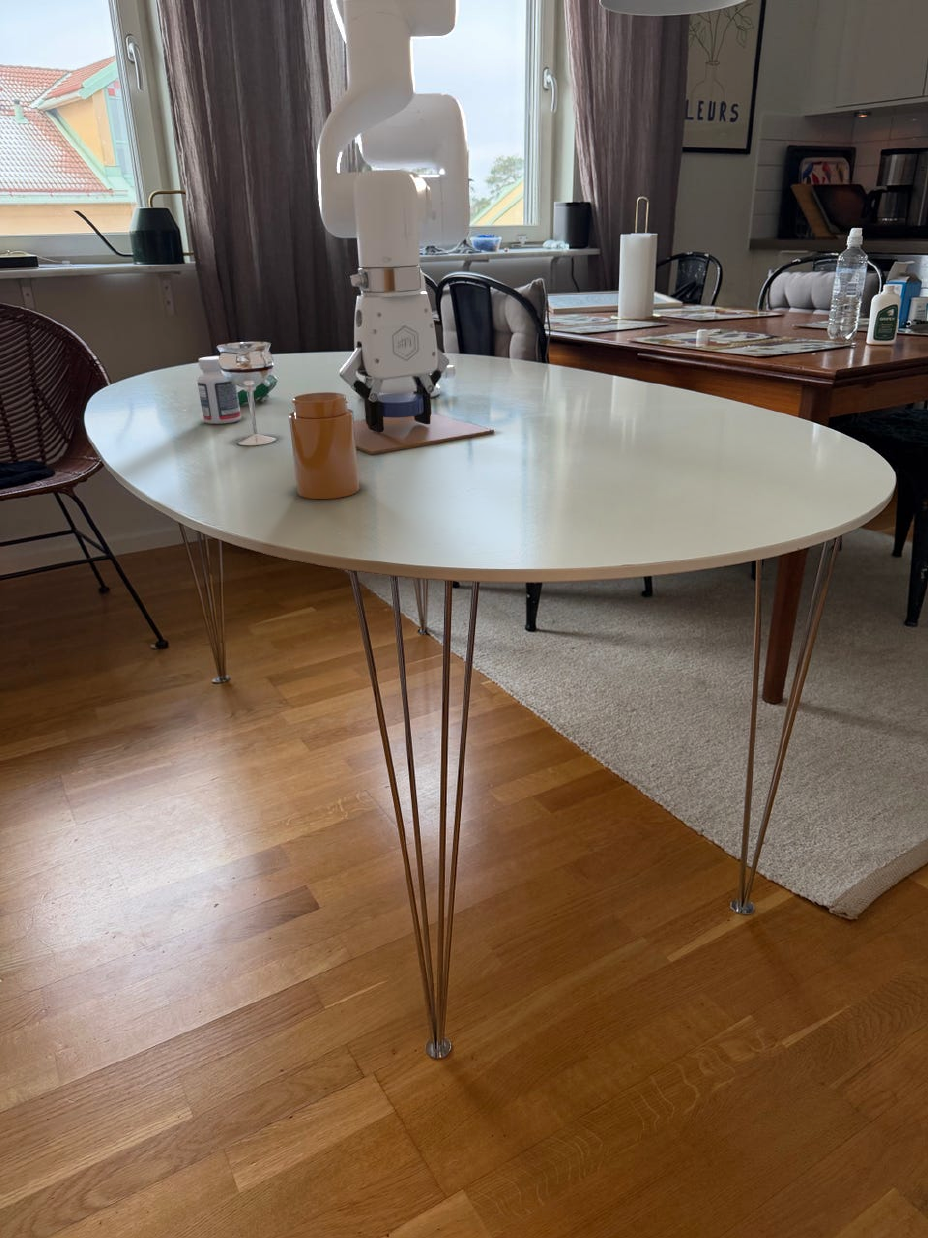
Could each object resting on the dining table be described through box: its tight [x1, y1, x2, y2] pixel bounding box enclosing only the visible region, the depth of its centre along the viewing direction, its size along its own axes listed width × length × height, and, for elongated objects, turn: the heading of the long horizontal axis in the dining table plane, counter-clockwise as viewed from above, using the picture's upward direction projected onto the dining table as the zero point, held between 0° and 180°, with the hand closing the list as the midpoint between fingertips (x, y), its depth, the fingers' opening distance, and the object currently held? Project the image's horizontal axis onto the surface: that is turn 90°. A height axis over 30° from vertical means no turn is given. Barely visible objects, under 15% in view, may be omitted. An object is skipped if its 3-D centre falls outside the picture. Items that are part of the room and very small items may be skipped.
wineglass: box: [216, 341, 277, 446], centre depth 109 cm, size 7×7×12 cm
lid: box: [378, 393, 424, 418], centre depth 113 cm, size 7×7×2 cm
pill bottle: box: [196, 355, 242, 425], centre depth 122 cm, size 5×5×9 cm
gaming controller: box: [237, 372, 278, 407], centre depth 138 cm, size 9×4×6 cm
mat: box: [354, 412, 495, 455], centre depth 114 cm, size 18×18×1 cm
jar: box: [288, 391, 361, 500], centre depth 87 cm, size 6×6×10 cm
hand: (399, 425), depth 114 cm, fingers closed on lid, 6 cm apart
